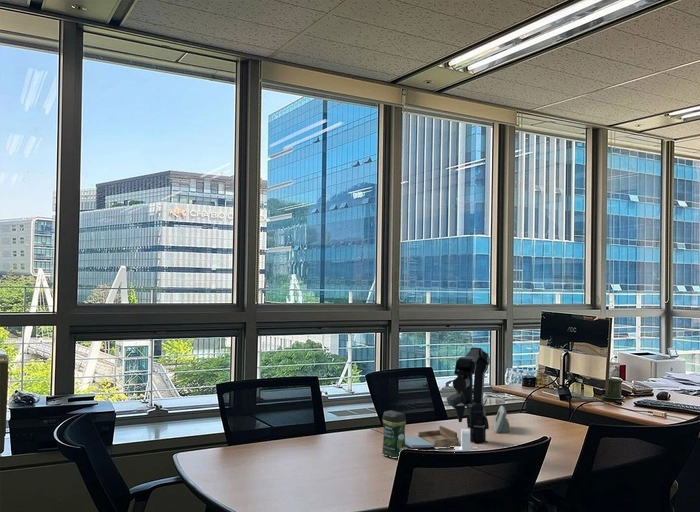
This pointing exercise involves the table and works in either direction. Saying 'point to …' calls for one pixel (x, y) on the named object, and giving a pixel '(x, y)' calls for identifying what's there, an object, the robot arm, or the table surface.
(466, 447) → the cable organizer
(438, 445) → the tray
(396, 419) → the coffee jar
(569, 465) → the table surface
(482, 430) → the robot arm
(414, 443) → the panel
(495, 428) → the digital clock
